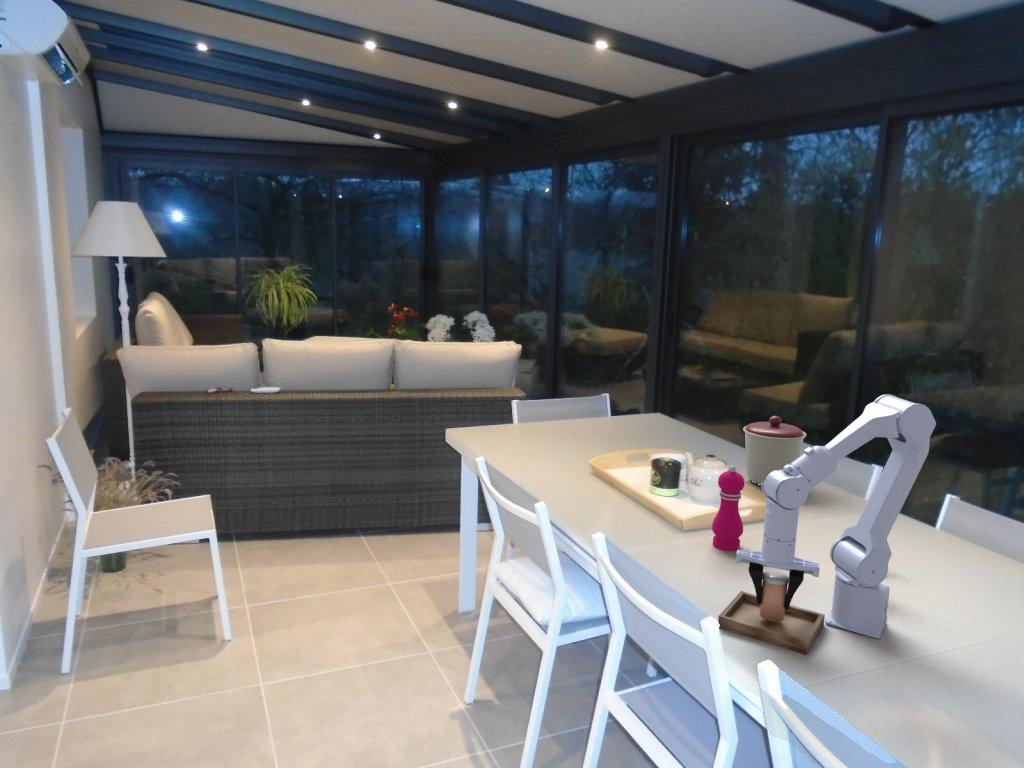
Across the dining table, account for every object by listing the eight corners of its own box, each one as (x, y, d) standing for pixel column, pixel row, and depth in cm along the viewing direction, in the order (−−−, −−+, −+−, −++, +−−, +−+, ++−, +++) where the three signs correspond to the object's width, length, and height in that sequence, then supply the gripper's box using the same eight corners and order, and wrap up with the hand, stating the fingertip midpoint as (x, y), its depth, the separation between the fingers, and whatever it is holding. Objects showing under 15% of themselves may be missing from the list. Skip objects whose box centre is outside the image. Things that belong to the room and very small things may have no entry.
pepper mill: (747, 545, 177) (754, 465, 173) (733, 554, 172) (739, 471, 168) (719, 537, 182) (725, 459, 178) (705, 545, 177) (711, 465, 173)
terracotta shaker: (783, 612, 140) (787, 573, 139) (785, 623, 136) (789, 582, 135) (758, 608, 142) (762, 569, 140) (759, 619, 137) (763, 579, 136)
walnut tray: (823, 625, 140) (824, 614, 139) (806, 654, 129) (807, 643, 129) (740, 601, 149) (740, 590, 148) (717, 626, 138) (718, 616, 138)
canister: (730, 484, 224) (736, 416, 220) (749, 470, 239) (754, 407, 235) (792, 496, 214) (799, 426, 210) (807, 481, 229) (814, 415, 225)
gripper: (822, 534, 137) (814, 603, 139) (740, 522, 142) (735, 588, 145) (822, 548, 130) (814, 619, 133) (737, 535, 136) (731, 603, 138)
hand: (773, 604), depth 138 cm, fingers closed on terracotta shaker, 4 cm apart
